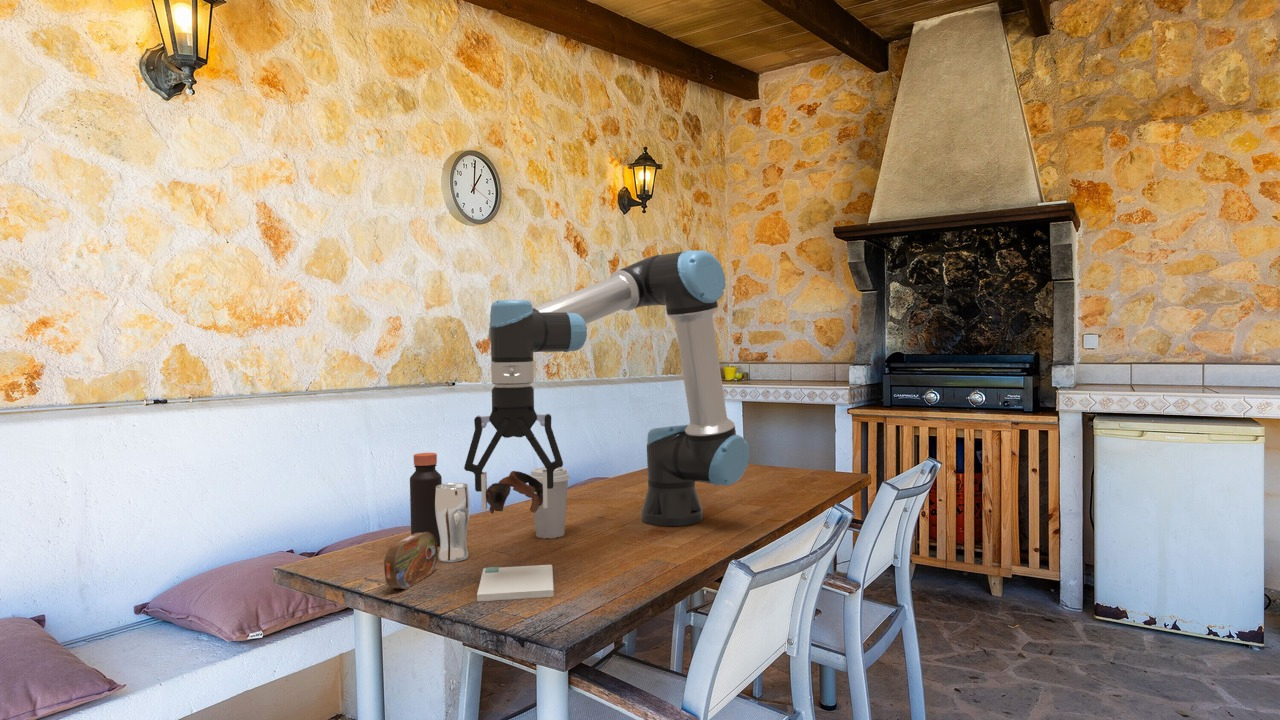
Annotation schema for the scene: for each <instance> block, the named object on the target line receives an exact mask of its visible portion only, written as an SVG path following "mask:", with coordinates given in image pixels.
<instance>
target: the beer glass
mask: <svg viewBox="0 0 1280 720" xmlns="http://www.w3.org/2000/svg"><path fill="white" fill-rule="evenodd" d="M435 488H436V490H435V516H436V522H437V527H438V532H439V537H440V545H439V550H438V556H437V561H439V562H441V561H442V563H457V562H462V561H465V560H467V559H468V558H469V556H470V555H469V550H468V547H467V532H468V528H469V527H468V526H469V521H470V511H471V509H470V508H471V506H470V504H471V502H470V491H469V484H468V483H464V482H463V483H462V482H449V483H448V482H446V483H442V484H441V485H437V486H436V487H435Z"/></svg>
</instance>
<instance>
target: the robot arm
mask: <svg viewBox="0 0 1280 720" xmlns="http://www.w3.org/2000/svg"><path fill="white" fill-rule="evenodd" d="M725 289H726V275H725V272H724V268H723V266H722V264H721V263H720V261H719V260H718V259H717V258H716V257H715V256H714V255H713V254H712V253H711V252H709V251H706V250H699V249H698V250H693V249H692V250H688V249H687V250H686V251H678V252H673V253H665V254H656V255H652V256H649V257H646V258H644V259H641V260H639V261H637V262H635V263H632V264H630V265H627V266H626V267H623V268H621V269H619V270H616V271H615V270H614V272H612V273H611V275H610V276H609V278H607V279H604V280H601V281H599V282H595V283H593V284H591V285H589V286H586V287H585V286H584V287H583V288H581V289H578V290H576V291H572V292H570V293H567V294H565V295H562V296H559V297H557V298H554V299H551V300H548V301H546V302H543V303H540V304H538V305H535V306H533V303H532V302H531V301H530V300H525V299H501V300H500V299H499V300H495V301H493V302H492V304H490V313H489V314H490V315H489V328H488V338H489V342H490V358H491V362H490V364H491V365H490V366H491V367H490V369H491V370H490V371H491V373H490V374H491V377H490V379H491V384H492V385H494V387H493V386H492V389H491V413H490V415H482V416H481V415H477V416H475V417H474V420H473V421H474V433H473V435H472V439H471V443H470V445H469V448H468V449H469V450H468V453H467V456H466V460H465V463H464V466H463V469H464V470H465V471H466V472H470V473H473V474H474V490H475V492H480V493H481V511H482V512H487V510H488V502H487V500H486V490H487V489H488V484H487V483H488V481H487V479H488V477H487V471H484V468H485V466H486V464H487V463H488V461H489V459H490V458H491V456H492V454H493V453H494V450H495V449H496V447H497V445H498V443H499V442H500V441H501V438H502V437H503V438H505V439H509V438H513V437H515V438H524V437H525V438H526V440H527V441H528V442H529V444H530V445H531V447H532V449H533V450H534V451H535V454H536V455H537V457H538V458H539V460H540V461H541V463H542V464H543V466H544V467H545V468H546V470H543V508H548V505H547V489H552V488H553V486H554V485H553V472H554V470H555V469H557V468H559V467H562V468H563V466H564V461H563V459H562V455H561V452H560V449H559V446H558V443H557V440H556V437H555V434H554V430H553V428H552V415H551V413H545V414H540V413H539V414H537V412H536V410H535V390H534V387H533V386H532V385H531V384H533V383H534V378H535V377H534V376H535V375H534V374H535V373H534V353H557V352H558V353H559V352H561V353H569V352H576V351H578V350H580V349H582V347H584V345H585V343H586V341H587V336H588V331H587V330H588V328H587V327H588V326H587V325H588V324H589V323H592V322H595V321H597V320H599V319H602V318H604V317H607V316H609V315H611V314H613V313H615V312H619V311H621V310H622V311H626V312H628V311H629V312H630V311H632V310H635V309H638V308H643V307H651V306H665V310H666V314H667V315H666V316H667V317H668V318H670V320H672V321H674V323H675V324H674V325H675V330H676V337H677V343H678V351H679V357H680V363H681V364H680V365H681V370H682V376H683V383H684V392H685V396H686V403H687V409H688V410H687V411H688V416H689V424H681V425H671V426H662V427H655V428H651V429H650V430H649V431H648V433H647V441H646V443H647V444H646V456H647V457H646V458H647V459H646V461H647V463H646V464H647V465H646V466H647V491H646V494H645V498H644V502H643V505H642V508H641V515H640V516H641V521H642V522H643V523H645V524H649V525H652V526H660V527H682V526H689V525H694V524H698V523H700V522H702V521H703V519H704V514H703V513H704V512H703V511H704V510H703V507H702V504H701V501H700V498H699V495H698V492H697V490H696V489H697V488H696V482H698V483H704V484H711V485H713V486H731V485H733V484H736V483H737V482H738V481H740V479H741V478H742V477H743V475H744V474H745V471H746V470H747V467H748V464H749V460H750V447H749V444H748V442H747V440H746V439H745V438H744V436H741V435H739V434H737V431H736V425H735V422H733V421H732V420H731V419H730V418H728V415H727V410H726V409H727V408H726V407H727V406H726V402H725V396H724V393H725V392H724V388H723V381H722V380H723V379H722V371H721V366H720V359H719V354H718V353H719V352H718V351H719V350H718V346H717V345H718V344H717V338H716V333H715V332H716V331H715V324H714V318H713V316H714V314H715V313H716V312H717V310H718V308H719V303H718V301H719V300H720V299H721V298H722V297H723V295H724V290H725ZM536 421H538V422H539V424H540V426H541V427H544V432H545V434H546V438H547V441H548V444H549V447H550V449H551V453H552V456H553V459H554V460H553V461H551V460H550V458H549V456H548V455H547V453H546V452H545V450H544V449H543V447H542V445H541V444H540V442H539V440H538V439H537V437H536V436H535V434H534V432H533V431H532V427H533V426H534V424H536ZM488 423H490V424H491V425H492V426H493V428H494V429H495V430H496V432H495V434H494V435H493V437H492V438H491V441H490V443H489V444H488V446H487V447H486V448H485V451H484V453H483V454H482V456H481V458H480V460H479V461H478V463H477V464H475V463H474V461H475V459H476V455H477V454H476V453H477V451H478V448H479V444H480V440H481V437H482V434H483V433H482V432H483V429H485V428H486V427H487V424H488Z"/></svg>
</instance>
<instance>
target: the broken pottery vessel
mask: <svg viewBox="0 0 1280 720" xmlns="http://www.w3.org/2000/svg"><path fill="white" fill-rule="evenodd" d="M527 483H528V484H527ZM511 488H512V490H513V491H515V492H518V493H519V494H521V495H525V497H527V498H530V499H531V500H532V501H531V502H532V503H531V506H530V507H529V511H530V512H531V513H533V514H534V513H535V512H536V511H537V510H538V508H539V506H541V505H542V503H543V484H541V483H540V482H539V481H538V480H536V479H535V478H533V477H532V476H530V474H527V473H525V472H523V471H519V470H518V471H517V470H512V471H510V473H509V475H507V476H506V477H505V476H504V477H503V478H502V479H501V480H499V481H498V482H495V483H492V484H491V485H489V486H487V490H486V500H487V505H489V508H488V509H489V513H490V514H494V513H495V512H504V511H503V510H504V505H505V503H506V500H507V498H508V497H509V496H510V492H511ZM534 492H536V493H537V494H534Z"/></svg>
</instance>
